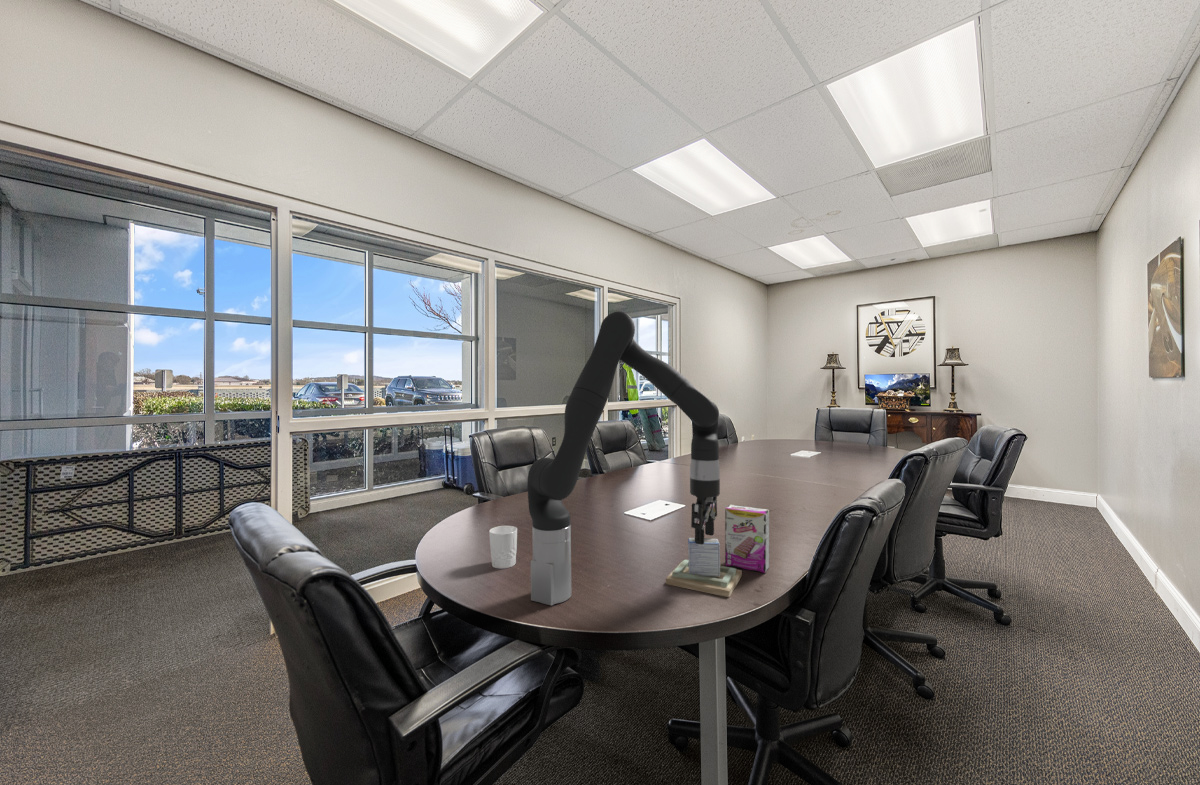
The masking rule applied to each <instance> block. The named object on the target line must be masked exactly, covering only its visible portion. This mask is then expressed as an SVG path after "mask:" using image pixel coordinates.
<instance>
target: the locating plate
mask: <svg viewBox="0 0 1200 785" xmlns="http://www.w3.org/2000/svg"><path fill="white" fill-rule="evenodd" d="M678 564H679V565H677V566H676V567H675V568H674V569H673V571H671V572H670V573H669V574H668V575H667V576H666V577H665V585H668V586H674V587H679V588H684V589H689V590H693V591H697V592H702V593H707V594H711V595H716V596H720V597H725V598H726V597H727V598H730V596H731V595H732V594H733V592H734V589H735V588H736V587H737V585H738V583H739V582H740V580H741V578H742V576H743V573H742V569H737V567H731V566H722V565H720V577H715V576H701V575H696V574H691V573H689V559H683V560H682V561H681V562H680V563H678Z"/></svg>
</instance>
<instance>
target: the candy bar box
mask: <svg viewBox="0 0 1200 785" xmlns="http://www.w3.org/2000/svg"><path fill="white" fill-rule="evenodd" d="M724 510H725V515H724V517H725V519H724V520H725V521H724V523H725V527H724V529H725V532H724V533H725V534H724V535H725V536H724V539H725V540H724V541H725V546H724V547H725V549H724V550H725V551H724V558H725V559H724V561H725V562H724V565H725V566H726V567H731V568H736V569H737V568H738V569H741V570H742V569H744V570H749V571H753V572H758V573H764V574H766V572H767V571H768V570H769V568H770V510H769V509H765V508H758V507H751V506H744V505H743V506H742V505H736V504H729V505H727V507H725V508H724Z"/></svg>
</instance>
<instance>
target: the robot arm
mask: <svg viewBox="0 0 1200 785" xmlns="http://www.w3.org/2000/svg"><path fill="white" fill-rule="evenodd" d="M635 333H636V326H635V323H634V321H633V318H632V317H631V316H630V315H629V314H628V313H627V312H625V311H614V312H611V313H610V314H607V316H605V317H604V319H603V320H602V322H601V324H600V328H599V330H598V335H597V338H596V341H595V344H594V347H593V349H592V352H591V354H590V356H589V357H588V360H587V361H586V363H585V365H584V366H583V368H582V370H581V372H580V374H579V376H578V378H577V380H576V382H575V384H574V386H573V388H572V391H571V393H570V394H569V397H568V400H567V402H566V404H565V407H564V433H563V438H562V442H561V443H560V446H559V448H558V451H557V453H556V455H555V456H554V458H551V457H542V458H538V459H537V460H535V461H534V462H532V465H531V466H530V468H529V471H528V473H527V500H528V501H527V503H528V510H529V511H528V512H529V515H530V517H531V521H532V523H531V524H532V528H531V529H532V559H531V560H530V601H533V602H537V603H539V604H543V605H548V606H554V605H555V604H561V603H563V602H566V601H568V600H569V599H570V598H571V597H572V552H571V550H572V542H571V539H572V538H571V536H572V535H571V532H572V531H571V514H570V511H569V510H568V509H567V508H566V507H565V505H564V503H563V500H564V499H566V498H567V497H569V496H570V495H571V493H572V492H573V491H574V489H575V487H576V485H577V482H578V479H579V476H580V473H581V470H582V466H583V463H584V460H585V456H586V454H587V451H588V448H589V445H590V443H591V439H592V438H593V435H594V432H595V430H596V427H597V425H598V423H599V420H600V418H601V416H602V414H603V411H604V410H605V407H606V404H607V401H608V399H609V396H610V394H611V390H612V387H613V384H614V379H615V374H616V370H617V368H618V364H619V362H620V361H621V362H623V363H624V364H626V365H627V366H629V367H631V368H632V369H633V370H634V371H636V373H638V374H640V375H641V376H642V377H643V378H644V379H646V380H647V381H648V382H650V383H651V384H652V386H654V387H655V388H656V389H657V390H659V392H661V394H663V395H664V396H665V397H666V398H667V399H669V401H670V402H672V403H673V404H675V405H676V406H678V408H679V409H680V410H681V411H682V412H683V413H684V414H685V416H687V417H688V419H690V421H691V429H692V430H691V431H692V432H691V433H692V436H691V442H690V466H689V493H690V495H691V496H693V497H696V501H695V503H692V504H691V516H690V517H691V520H690V521H691V524H690V526H691V527H690V528H692V529H694V538H695V543H696V544H701V545H702V544H704V538H705V535H707V536H713V535H714V534H715V521H716V518H717V517H718V497H719V496H720V494H721V493H720V492H721V491H720V490H721V487H720V486H721V483H720V482H721V481H720V480H721V477H720V476H721V471H720V470H721V469H720V468H721V467H720V460H719V459H720V458H719V456H720V446H719V439H718V437H719V436H718V434H719V418H720V411H719V408H718V406H717V404H716V403H715V402H713V401H712V399H710V398H709V397H707V396H706V395H705V394H703V393H702V392H701V391H699V390H698V389H697V388H696V387H695V386H694V384H692V383H691V381H690V380H689V379H687V378H686V376H684V375H683V374H682V373H681V372H679V370H677V369H676V368H674V367H673V366H672V365H671V364H669V363H667V362H665V361H663V360H661V359H659V358H657V357H656V356H653V355H651V354H650V353H649V352H647V351H646V350H645V349H644V348H642V347H641V346H640V345H639V343H637V341H636V340H635V339H634V337H635ZM631 368H630V369H631Z"/></svg>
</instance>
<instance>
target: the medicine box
mask: <svg viewBox="0 0 1200 785" xmlns="http://www.w3.org/2000/svg"><path fill="white" fill-rule="evenodd" d="M687 540H688V541H687V542H688V544H687V547H688V549H687V550H688V552H687V553H688V554H687V556H688V560H689V573H691V574H696V575H701V576H715V577H720V566H721V544H720V542H719V539H718V538H705V537H704V544H702V545H701V544H696V543H695V537H688V539H687Z"/></svg>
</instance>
